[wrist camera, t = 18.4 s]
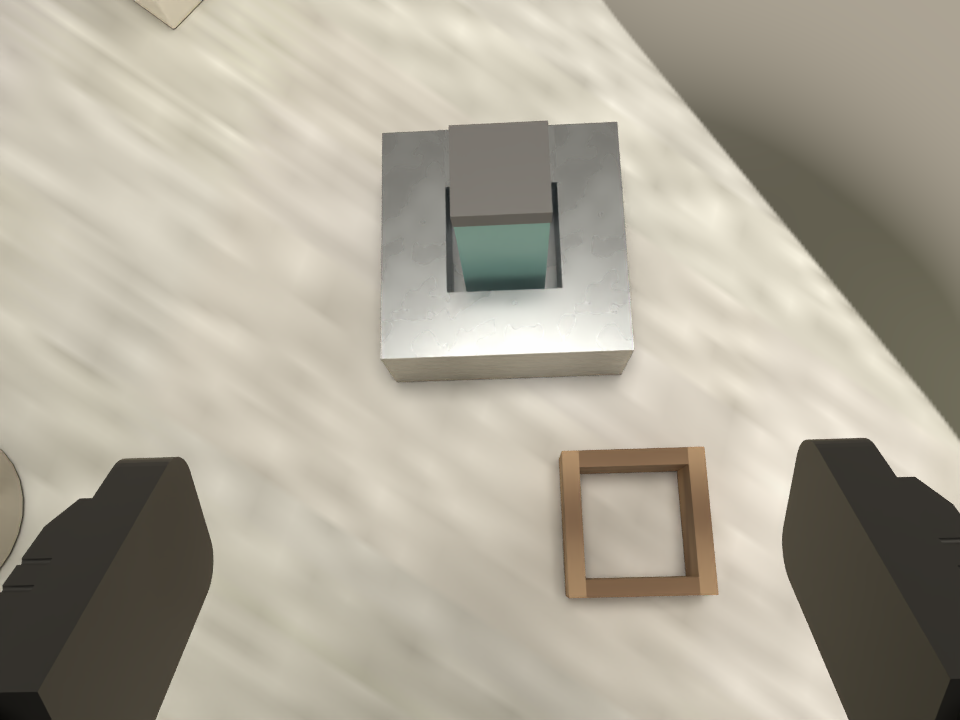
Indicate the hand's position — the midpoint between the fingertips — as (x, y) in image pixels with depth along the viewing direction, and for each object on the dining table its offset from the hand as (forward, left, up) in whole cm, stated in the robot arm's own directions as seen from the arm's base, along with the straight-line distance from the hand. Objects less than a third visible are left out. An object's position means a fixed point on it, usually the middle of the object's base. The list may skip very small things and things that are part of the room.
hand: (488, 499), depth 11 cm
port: (+13, +7, -31) cm, 34 cm away
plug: (+13, +7, -30) cm, 33 cm away
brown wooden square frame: (+4, -5, -31) cm, 31 cm away
